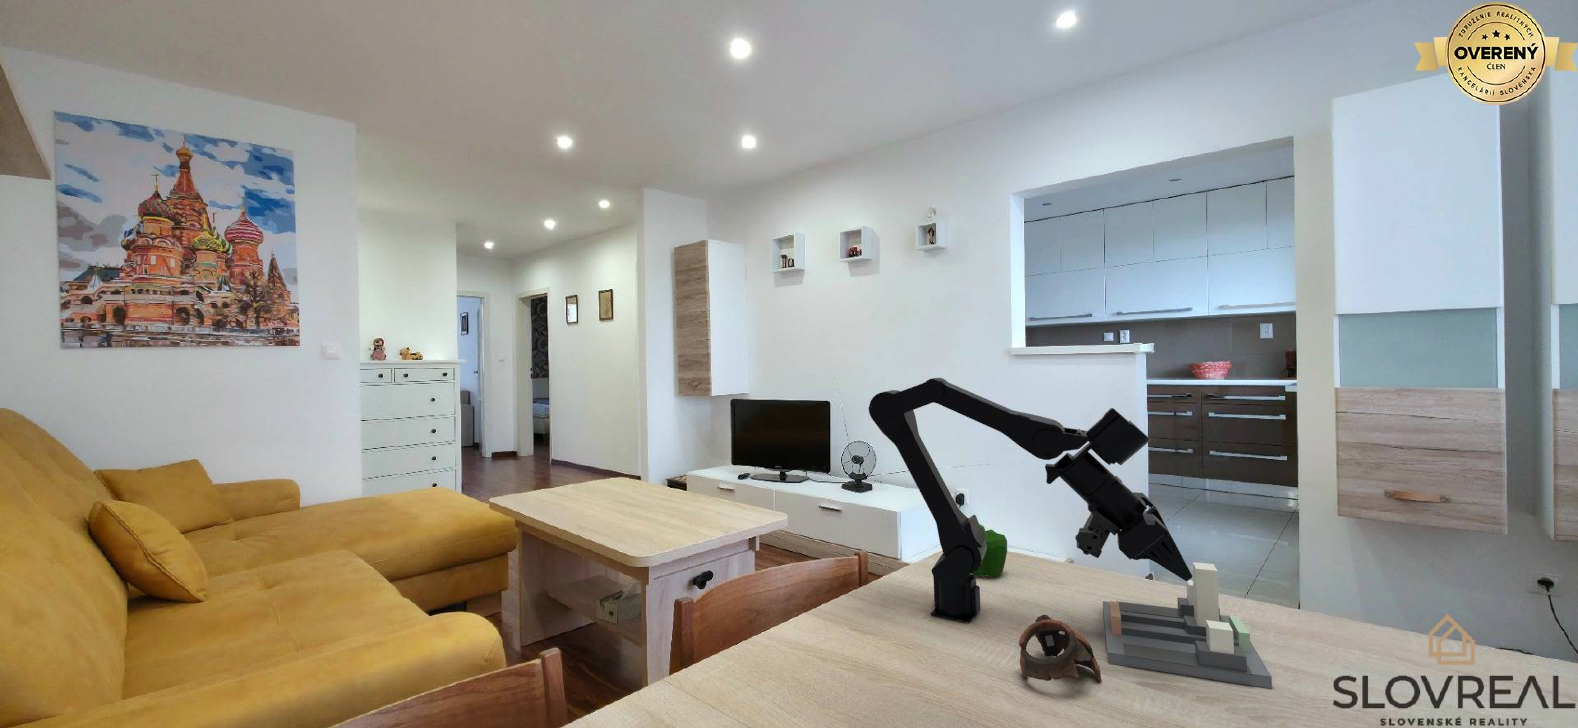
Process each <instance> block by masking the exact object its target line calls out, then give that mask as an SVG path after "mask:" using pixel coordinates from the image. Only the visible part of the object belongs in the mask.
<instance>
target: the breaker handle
mask: <svg viewBox="0 0 1578 728" xmlns="http://www.w3.org/2000/svg"><path fill="white" fill-rule="evenodd" d="M1218 572H1219V571H1218V569H1217V568H1216V566H1215V564H1213V563H1206V562H1205V563H1204V562H1195V561H1193V562H1192V580H1193V593H1194V617H1191V616H1184V630H1185V632H1186V634H1192V635H1200V636H1206V620H1209V621H1217V622H1225V623H1226V621H1224V620H1219V609H1220V605H1219V604H1220V603H1219V577H1218Z"/></svg>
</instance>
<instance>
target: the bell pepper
mask: <svg viewBox="0 0 1578 728" xmlns="http://www.w3.org/2000/svg"><path fill="white" fill-rule="evenodd" d="M979 525H980V528H981V529H982V530H983V532H984V533H985V534H987V538H986V540H985V541H986V544H987V550H986V553H985V556H984V558H983V560H982V563H981V565H980V567H979V568H978V569H977V570H976V571H975V572H973V573H970V574H971V575H975V576H976V577H985V576H987V577H993V578H996V577H999V576H1001V574H1002V573H1003V571H1004V569H1005V565H1006V560H1007V554H1008V539H1007V538H1006V536H1005V534H1002V533H998V532H996V531H995V530H993V529H988V530H986V528H985V526H984V525H982V524H981V523H979Z"/></svg>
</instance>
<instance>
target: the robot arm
mask: <svg viewBox="0 0 1578 728" xmlns="http://www.w3.org/2000/svg"><path fill="white" fill-rule="evenodd" d="M933 403H935V404H937V405H940V406H942V407H944V408H946V409H949V410H951V411H953V412H956V413H957V414H959V415H962V416H964V417H966V418H969V419H971V420H973V421H974V422H977V423H980V424H982V425H984V426H986V427H989V428H990V429H993V430H995V431H997V432H1000V433H1001V434H1003V435H1004V436H1005V437H1007V438H1008V439H1010V440H1011V441H1012V442H1014V443H1015V444H1016V445H1017V446H1019V447H1020V448H1022V449H1023V450H1024V451H1026V452H1028V453H1029V454H1030V455H1032V456H1034V457H1036V458H1037V459H1040V460H1043V461H1045V460H1046V461H1049V460H1053V459H1056V458H1059V456H1061V455H1062V454H1063V453H1065V452H1066V453H1065V454H1064V455H1063V456H1062V457H1061V458H1060V459H1058V460H1057V461H1056V462H1055V463H1045V466H1044V469H1045V472H1046V481H1045V482H1046V484H1047V485H1051V484H1053V482H1055V481H1056V479H1058V478H1060V479H1061V480H1062V481H1064V482H1065V483H1066V485H1068V486H1069V487H1070V488H1071V489H1072V490H1073V492H1075V493H1076V495H1078V496H1079V497H1080V498H1081V499H1082V500H1083V501H1084V502H1085V503H1086V504H1087V510H1088V512H1089V513H1090V514H1089V516H1088V518H1087V519H1086V522H1085V523H1084V525H1083V527H1079V529H1078V532H1077V534H1076V535H1075V537H1074V538H1075V542H1076V548H1077V549H1079V550H1081V551H1082V553H1083V554H1084V555H1086V556H1087V555H1090V556H1092V557H1094V558H1096V559H1099V558H1100V556H1101V554H1103V551H1102V549H1103V547H1104V546H1105V544H1106V542H1107V540H1108V538H1109V536H1110V534H1112V535H1113V536H1114V537H1115V536H1117V546H1118V549H1119V551H1120V552H1121V553H1122V554H1123V555H1124V556H1126V557H1127V558H1128V560H1134V561H1139V560H1150V561H1153V562H1154V563H1156V564H1157V565H1159V566H1161V567H1162V568H1164V569H1165V570H1168V571H1169V573H1170V572H1171V573H1172V574H1174V576H1175V575H1176V576H1177V577H1178V578H1180V579H1182V580H1183V581H1185V582H1186V581H1188V580H1192V579H1193V573H1192V572H1191V570H1190V568H1189V567H1188V565H1187V563H1186V561H1185V559H1184V558H1183V555H1182V553H1181V551H1180V550H1179V547H1178V546H1177V543H1176V542H1175V540H1174V538H1173V536H1172V535H1171V533H1170V530H1169V529H1168V527H1167V525H1166V523H1165V522H1164V519H1163V518H1162V516H1161V514H1160V512H1159V510H1158V508H1157V506H1156V505H1155V504H1154V503H1153V501H1152V500H1151V499H1150V498H1149V497H1148V496H1147V495H1146V494H1145V493H1144V492H1137V491H1134V492H1133V491H1132V490H1131V489H1130V488H1128V486H1126V484H1124V482H1123V481H1122V479H1121V478H1119V476H1118V475H1114V474H1113V473H1112V472H1111V471H1110V470H1109V469H1108V468H1107V467H1106V466H1105V465H1104V464H1102V463H1101V462H1100V460H1098V459H1097V458H1096V457H1095V456H1094V455H1093V454H1092V453H1091V452H1089V451H1091V450H1092V451H1093V453H1095V454H1096V456H1098V457H1099V458H1100V459H1101V460H1103V462H1104V463H1106V464H1107V465H1108V466H1110V465H1115V464H1118V465H1119V466H1122V465H1124V464H1125V462H1127V461H1128V460H1129V459H1130V458H1132V457H1133V456H1134V455H1135V454H1136V453H1138V452H1139V451H1140V450H1141V449H1142V448H1143V447H1145V446H1146V445H1147V444H1148V443H1149V442H1151V441H1152V439H1151V438H1150V437H1149V436H1148V435H1147V434H1146V433H1145V432H1143V430H1141V429H1140V428H1139V427H1138V426H1137V425H1136V424H1134V423H1133V421H1131V420H1128V419H1127V418H1125V417H1124V416H1123V415H1122V414H1121V413H1120V412H1119V411H1117V410H1116V409H1115V408H1114V407H1111V408H1109V410H1107V411H1106V412H1104V414H1103V416H1102V417H1101V418H1100V419H1099V420H1098V421H1097V422H1096V423H1095V424H1093V425H1092V426H1091V427H1090V428H1089V429H1088V430H1084V429H1080V428H1078V429H1077V428H1071V427H1064V425H1063V424H1062V423H1060V422H1059V421H1057V420H1055V419H1052V418H1050V417H1049V418H1047V417H1046V416H1041V415H1037V414H1033V413H1027V412H1021V411H1019V410H1018V411H1017V410H1013V409H1011V408H1009V407H1007V406H1004V405H1002V404H999V403H997V402H994V401H993V400H990V399H988V398H985V397H982V396H981V395H979V394H976V393H974V392H972V391H969V390H967V389H964V388H962V387H960V386H958V385H955V384H953V383H950V382H948V381H947V380H946V379H944V378H942V377H933V378H932V377H931V378H929V379H927V380H926V381H925V382H922V383H920V384H917V385H915V386H912V387H909V388H906V389H903V390H897V389H891V390H886V391H882V392H879V393H876V394H875V395H874V396H873V397H872V398H871V399H870V403H869V406H868V413H869V416H870V418H871V420H872V421H873V422H874V424H875V425H876V426H877V428H878V430H880V432H881V433H882V434H883V435H884V436H885V437H886V438H887V439H888V440H889V441H891V443H893V444H894V446H895V447H896V449H897V450H898V453H899V454H900V456H901V458H902V460H903V462H904V463H905V466H906V467H907V469H908V471H909V473H910V475H911V477H912V479H913V481H914V483H915V485H916V487H917V488H918V489H917V490H919V492H920V494H921V497H922V498H923V501H924V502H925V505H926V506H927V508H928V509H929V512H930V514H931V515H932V517H933V519H934V522H935V525H936V529H937V534H938V540H939V545H940V548H941V550H942V554H941V555H940V556H939V558H938V559H937V561H936V562H935V564H934V565H933V567H932V568H931V572H930V573H931V574H932V577H933V599H934V607H933V609H932V610H931V612H930V616H932V617H935V618H941V619H944V620H945V619H946V620H950V621H955V622H960V623H966V624H970V623H971V622H972V621H973V620H974V618H975V617H976V616H977V615H978V614H979V613H980V612H981V589H980V588H981V587H980V586H979V585H977V576H975V575H972V574H971V573H973V572H975V571H976V570H977V569H978V568H979V567H980V565H981V563H982V560H983V558H984V556H985V553H986V550H987V544H986V541H985V540H986V538H987V534H985V533H984V532H983V530H982V529H981V528H980V525H979V524H980V522H979V519H978V517H977V515H976V514H972V515H971V516H969V517H967V516H966V515H965V514H964V513H963V512H962V511H961V509H960V508H959V507H958V505H957V504H956V501H955V499H954V497H953V496H952V494H951V491H950V490H949V488H948V486H947V484H946V483H945V481H944V479H943V477H942V475H941V473H940V471H939V469H938V468H937V465H936V464H935V462H934V460H933V458H932V456H931V455H930V452H929V451H928V449H927V447H926V445H925V443H924V442H923V439H922V437H921V436H920V432H919V429H918V424H917V417H916V413H915V411H914V410H917V409H919V408H922V407H924V406H927V405H930V404H933ZM1074 450H1075V451H1077V450H1079V451H1077V452H1076V453H1075V454H1071V453H1069V451H1074ZM1147 506H1148V507H1149V508H1148V507H1147Z"/></svg>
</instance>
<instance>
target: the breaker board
mask: <svg viewBox="0 0 1578 728" xmlns="http://www.w3.org/2000/svg"><path fill="white" fill-rule="evenodd" d="M1185 582H1186V583H1185V584H1186V597H1179V596H1177V600H1176V601H1177V607H1169V606H1168V607H1167V606H1160V605H1151V604H1145V603H1134V602H1128V601H1127V602H1126V601H1118V600H1116V601H1112V600H1109V601H1106V600H1103V601H1102V614H1103V624H1104V634H1105V643H1106V652H1107V662H1108V664H1112V665H1117V666H1123V667H1131V668H1137V669H1142V670H1143V669H1144V670H1150V671H1156V672H1163V673H1170V674H1175V675H1181V676H1182V675H1183V676H1188V677H1195V678H1201V679H1208V680H1214V681H1220V682H1227V683H1234V684H1240V685H1246V686H1252V687H1258V688H1265V689H1270V688H1272V689H1273V680H1272V678H1273V677H1272V675H1271V673H1270V671H1269V670H1268V668H1267V667H1266V665H1265V663H1264V661H1263V660H1262V658H1261V656H1260V655H1259V653H1258V652H1257V650H1256V648H1255V646H1254V645H1253V643H1252V641H1251V636H1250V635H1251V634H1250V632H1249V630H1248V628H1247V627H1246V625H1245V624H1244V622H1243V620H1242V619H1241V617H1240V616H1239V615H1231V614H1228V615H1224V614H1223V615H1222V614H1221V612H1220V611H1221V610H1220V608H1219V620H1224V621H1226V623H1225V622H1217V621H1209V620H1206V636H1200V635H1192V634H1186V632H1185V630H1184V616H1191V617H1194V593H1193V579H1190V580H1188V581H1185Z"/></svg>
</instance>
